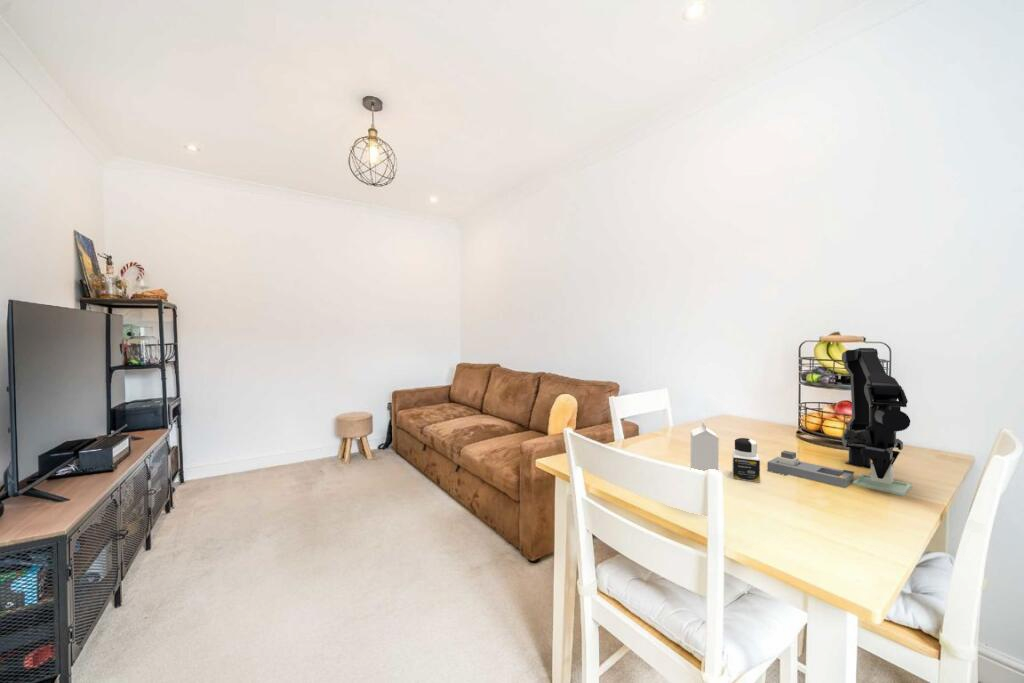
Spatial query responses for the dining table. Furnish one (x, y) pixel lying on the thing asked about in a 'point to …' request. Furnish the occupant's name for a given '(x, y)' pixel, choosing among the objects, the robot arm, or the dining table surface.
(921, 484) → the dining table surface
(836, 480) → the grey socket board
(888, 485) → the parts tray
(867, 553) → the dining table surface
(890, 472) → the plug
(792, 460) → the twin plug
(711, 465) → the milk
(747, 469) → the medicine bottle
